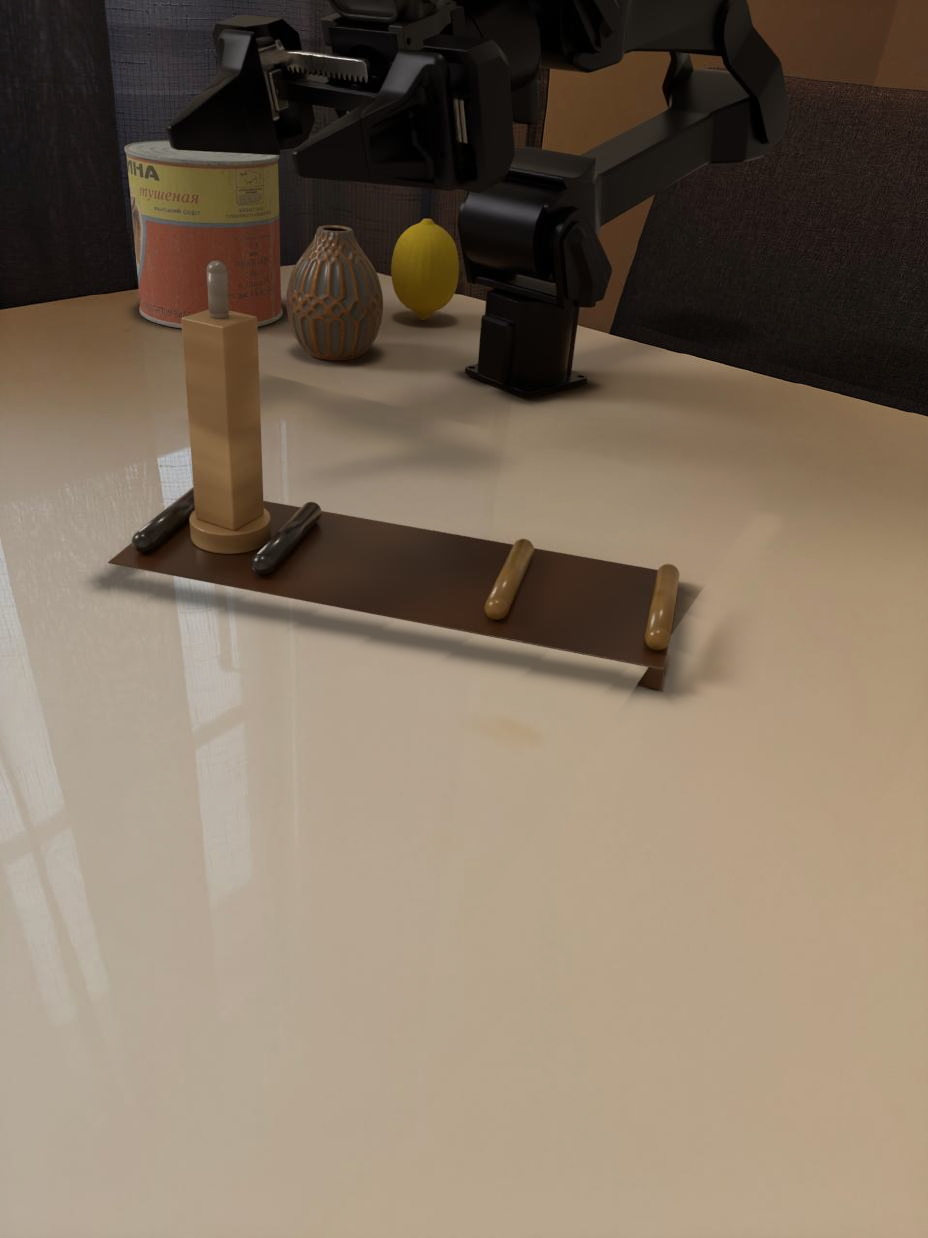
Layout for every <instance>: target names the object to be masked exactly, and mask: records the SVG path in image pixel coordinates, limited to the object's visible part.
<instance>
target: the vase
mask: <svg viewBox="0 0 928 1238" xmlns="http://www.w3.org/2000/svg"><path fill="white" fill-rule="evenodd" d="M286 290H287V291H286V313H287V319H288V323H289V326H290V329H291V332H292V334H293V337H294V338H295V340H296V341H297V343H298V344H299V345H300V347H302V349H303V350H304V351H305V352H307V354H309V355H310V356H312V357H313V358H316V359H319V360H327V361H350V360H353V359H357V358H360V357H361V356H362V355H363V354H364V353H365V352H367V351H368V349H370V347H371V346H372V345H373V343H374V342H375V341H376V338H377V336H378V334H379V332H380V329H381V325H382V321H383V315H384V314H383V312H384V296H383V290H382V285H381V280H380V277H379V275H378V273H377V270H376V269H375V267H374V265H373V264H372V262H371V261H370V259H369V258H368V256H367V255H366V253H365V252H364V250H363V249H362V248H361V246H360V245H359V242H358V240H357V238H356V236H355V233H354V230H353V229H352V228H351V227H349V226H345V225H338V224H327V225H325V224H324V225H321V226H319V227H317V230H316V233H315V234H314V237H313V239H312V241H311V242H310V244H309V245H308V246H307V248H306V250H305V251H304V252H303V253H302V254H301V256H300V257H299V259H298V260H297V262H296V263H295V264H294V267H293V269H292V270H291V274H290V277H289V280H288V284H287V289H286Z"/></svg>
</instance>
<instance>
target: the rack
mask: <svg viewBox="0 0 928 1238" xmlns="http://www.w3.org/2000/svg"><path fill="white" fill-rule="evenodd" d="M263 501H264V508H265V509H266V510H267V511H268V512H269V514H270V517H271V537H270V540H269V541H268V542H267V543H266V544H265V545H264V546H262V547H260V548H258V549H256V550H253V551H249V552H245V553H238V554H220V553H213V552H209V551H206V550H203V549H201V548H199V547H197V546H196V545H195V544H194V543H193V542H192V540H191V535H190V522H189V518H190V515H191V514H192V512H193V511H194V510H195V501H194V488H193V486H192V487H191V488H190V489H189V490H187V491H186V492H185V493H184V494H182V495H181V496H180V497H179V498H177V499H176V500H175V501H174V502H173V503H171V504H170V505H168V506H167V507H166V508H165V509H164V510H162V511H161V512H160V513H158V514H157V515H156V516H155V517H153V518H152V519H151V520H150V521H149V522H147V523H146V524H145V525H143V527H141V528H140V529H139V530H138V531H136V532H135V533H134V534H133V536H132V537H131V540H130V541H131V543H130V544H128V545H127V546H126V547H125V548H123V549H122V550H121V551H119V552H118V553H117V554H116V555H115V556H114V557H112V558H111V559H110V560H109V561H108V562H107V564H110V565H116V566H121V567H125V568H131V569H137V570H142V571H146V572H152V573H156V574H157V573H158V574H162V575H168V576H171V577H178V578H183V579H188V580H194V581H199V582H204V583H209V584H214V585H219V586H224V587H230V588H235V589H241V590H245V591H251V592H256V593H261V594H267V595H272V596H277V597H282V598H287V599H293V600H298V601H303V602H308V603H313V604H318V605H324V606H328V607H334V608H338V609H344V610H349V611H355V612H360V613H366V614H370V615H376V616H379V617H380V616H381V617H387V618H392V619H396V620H401V621H406V622H411V623H418V624H423V625H427V626H433V627H438V628H443V629H448V630H454V631H459V632H464V633H470V634H475V635H480V636H485V637H489V638H496V639H500V640H505V641H510V642H516V643H521V644H526V645H532V646H536V647H542V648H547V649H553V650H557V651H563V652H568V653H573V654H578V655H584V656H587V657H588V656H589V657H593V658H599V659H605V660H609V661H615V662H619V663H626V664H630V665H635V666H641V667H647V669H646V670H645V671H644V673H643V675H642V676H641V677H640V679H639V680H638V682H637V684H636V686H639V687H640V686H641V687H644V688H650V689H656V690H661V689H662V686H663V681H664V677H665V672H666V665H667V660H668V652H669V646H670V642H671V636H672V631H673V630H672V629H673V623H674V616H675V608H676V601H677V595H678V587H679V581H680V571H679V569H678V567H677V566H676V565H674V564H671V563H665V564H662V565H661V566H660V567H659V568H658V569H656V568H649V567H643V566H638V565H633V564H626V563H619V562H616V561H610V560H605V559H604V560H603V559H599V558H598V559H597V558H592V557H586V556H580V555H575V554H569V553H564V552H558V551H553V550H546V549H541V548H535V547H534V544H533V542H531V540H529V539H527V538H519V539H517V540H516V541H515V542H514V543H513V544H512V543H506V542H503V541H501V542H500V541H496V540H495V541H494V540H489V539H484V538H478V537H473V536H467V535H461V534H456V533H449V532H445V531H444V532H443V531H439V530H434V529H433V530H432V529H427V528H421V527H415V526H410V525H403V524H398V523H393V522H387V521H381V520H376V519H371V518H370V519H369V518H364V517H359V516H353V515H347V514H342V513H337V512H336V513H335V512H330V511H326V510H325V511H324V510H322V507H321V506H320V505H319V504H318V503H317V502H315V501H307V502H306V503H304V504H302V505H301V506H296V505H291V504H284V503H278V502H272V501H268V500H263Z"/></svg>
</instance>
